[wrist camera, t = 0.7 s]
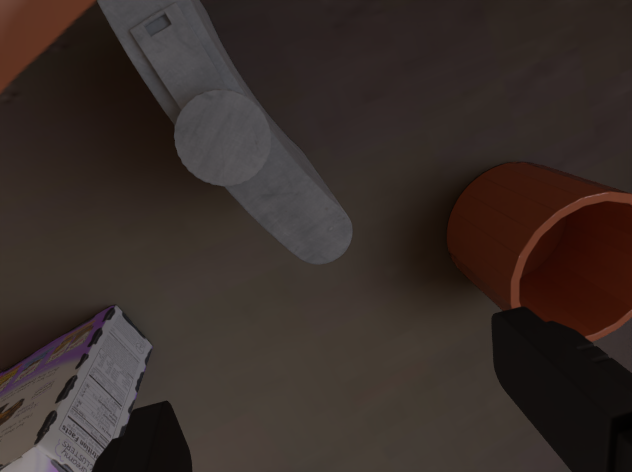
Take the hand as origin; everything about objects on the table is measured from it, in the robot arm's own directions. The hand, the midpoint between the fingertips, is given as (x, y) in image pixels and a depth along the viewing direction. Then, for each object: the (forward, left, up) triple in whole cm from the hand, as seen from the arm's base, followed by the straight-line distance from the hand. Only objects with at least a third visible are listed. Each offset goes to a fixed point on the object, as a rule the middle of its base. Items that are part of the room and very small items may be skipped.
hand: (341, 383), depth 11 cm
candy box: (-15, +22, -29) cm, 39 cm away
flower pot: (-11, -21, -28) cm, 37 cm away
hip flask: (+5, +2, -29) cm, 29 cm away
